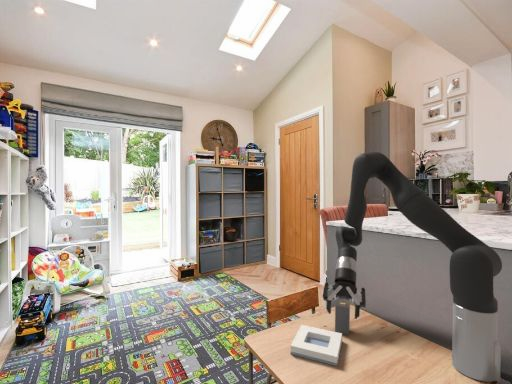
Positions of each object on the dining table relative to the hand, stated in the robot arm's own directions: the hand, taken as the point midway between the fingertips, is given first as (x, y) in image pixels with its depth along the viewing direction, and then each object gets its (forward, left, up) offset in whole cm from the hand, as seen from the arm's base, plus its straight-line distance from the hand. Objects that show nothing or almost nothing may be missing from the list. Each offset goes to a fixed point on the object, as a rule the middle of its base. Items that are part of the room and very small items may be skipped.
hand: (342, 315), depth 90 cm
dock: (+6, +13, -5) cm, 15 cm away
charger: (0, 0, -5) cm, 5 cm away
